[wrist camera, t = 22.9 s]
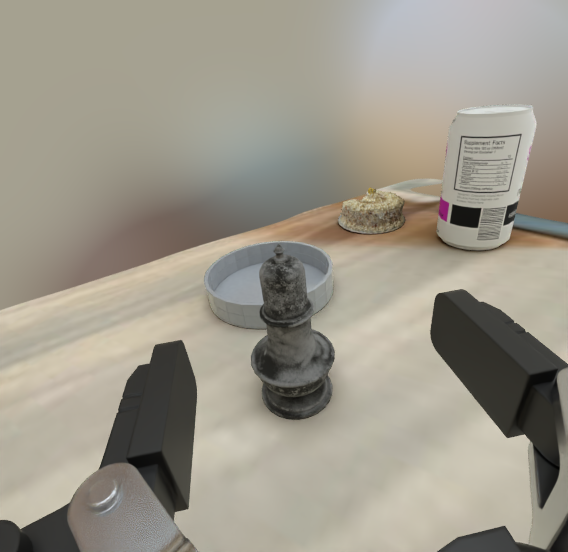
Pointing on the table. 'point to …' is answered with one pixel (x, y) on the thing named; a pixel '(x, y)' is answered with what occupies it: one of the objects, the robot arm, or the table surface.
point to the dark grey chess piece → (290, 343)
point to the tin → (246, 283)
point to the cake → (373, 213)
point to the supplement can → (484, 174)
